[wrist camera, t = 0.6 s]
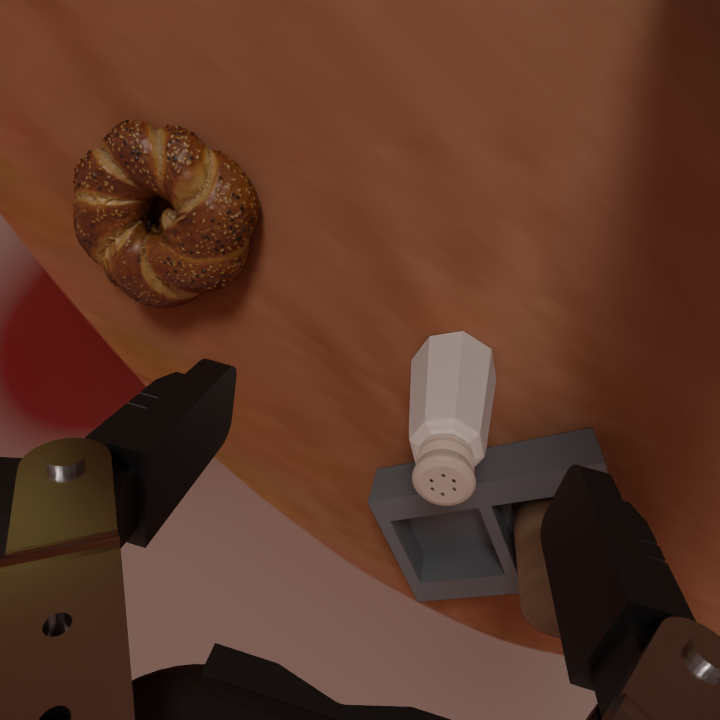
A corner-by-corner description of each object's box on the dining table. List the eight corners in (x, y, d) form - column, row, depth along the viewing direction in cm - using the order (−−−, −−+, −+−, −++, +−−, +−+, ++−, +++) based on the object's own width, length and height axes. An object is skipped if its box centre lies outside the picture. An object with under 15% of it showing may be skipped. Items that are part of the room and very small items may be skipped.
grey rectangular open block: (592, 427, 30) (605, 462, 27) (622, 541, 34) (637, 583, 31) (377, 469, 36) (367, 502, 33) (422, 563, 39) (417, 602, 36)
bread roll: (235, 93, 26) (203, 91, 23) (289, 282, 31) (267, 302, 28) (62, 141, 30) (13, 145, 26) (133, 306, 34) (98, 327, 31)
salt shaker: (441, 416, 33) (426, 544, 23) (394, 355, 31) (358, 464, 22) (514, 381, 30) (531, 507, 21) (467, 313, 29) (463, 414, 19)
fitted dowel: (577, 471, 31) (606, 575, 24) (593, 525, 33) (624, 636, 26) (503, 484, 33) (510, 583, 26) (521, 534, 35) (533, 641, 28)
